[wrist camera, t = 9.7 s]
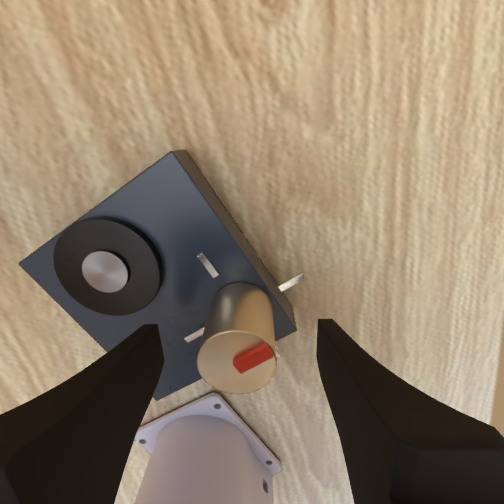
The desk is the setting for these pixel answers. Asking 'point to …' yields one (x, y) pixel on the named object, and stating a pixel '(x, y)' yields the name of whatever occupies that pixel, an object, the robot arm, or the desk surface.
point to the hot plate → (173, 266)
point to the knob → (238, 340)
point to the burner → (108, 266)
